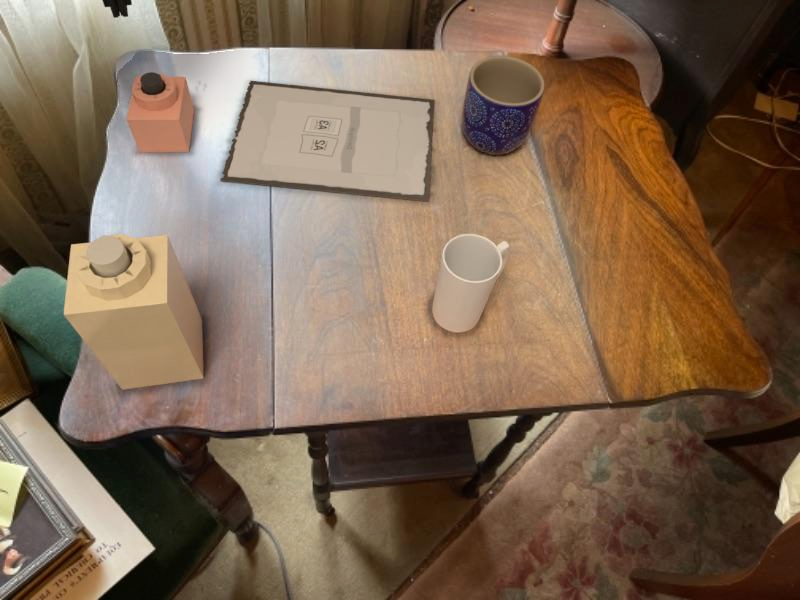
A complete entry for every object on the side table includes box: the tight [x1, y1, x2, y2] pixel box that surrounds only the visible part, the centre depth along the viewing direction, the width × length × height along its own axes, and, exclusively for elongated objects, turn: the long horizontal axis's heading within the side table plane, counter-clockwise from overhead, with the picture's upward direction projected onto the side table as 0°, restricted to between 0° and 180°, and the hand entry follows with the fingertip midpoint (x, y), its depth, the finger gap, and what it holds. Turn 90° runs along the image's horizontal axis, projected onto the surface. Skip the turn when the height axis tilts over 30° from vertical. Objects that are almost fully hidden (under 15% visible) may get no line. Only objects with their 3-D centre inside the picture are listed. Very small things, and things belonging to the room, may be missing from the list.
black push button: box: [140, 71, 164, 95], centre depth 84 cm, size 3×3×2 cm
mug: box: [431, 233, 511, 334], centre depth 73 cm, size 10×7×12 cm, turn 125°
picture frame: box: [219, 80, 435, 202], centre depth 92 cm, size 22×1×30 cm
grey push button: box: [86, 235, 130, 277], centre depth 55 cm, size 3×3×2 cm
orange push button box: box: [126, 73, 195, 153], centre depth 87 cm, size 7×9×8 cm
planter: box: [461, 55, 546, 156], centre depth 90 cm, size 11×11×11 cm
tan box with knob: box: [63, 233, 205, 391], centre depth 64 cm, size 9×8×19 cm
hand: (120, 10), depth 72 cm, fingers closed
